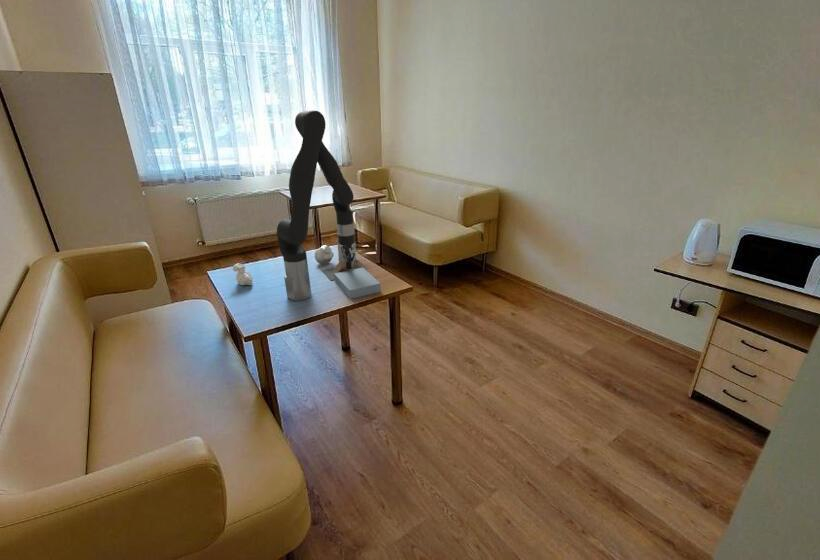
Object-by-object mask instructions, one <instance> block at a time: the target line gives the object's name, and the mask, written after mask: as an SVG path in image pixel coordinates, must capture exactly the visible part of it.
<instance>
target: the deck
mask: <svg viewBox="0 0 820 560" xmlns="http://www.w3.org/2000/svg"><path fill="white" fill-rule="evenodd" d="M334 277H335V280H334V282H335V283H336V285H337V286H338V287H339V288H340V289H341V290H342V291H343V292H344V294H345V295H346V296H347V297H348V298H349V299H350V300H352V299H356V298H360V297H364V296H368V295H372V294H377V293H381V283H380V281H378V279H376V278H375V277H374V276H373V275H372V274H371V273H369V271H367V270H366V269H365V268H364V267H359V268H358V269H354V270H349V271H344V272H339V273H335V274H334Z"/></svg>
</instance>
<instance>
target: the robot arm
mask: <svg viewBox="0 0 820 560" xmlns="http://www.w3.org/2000/svg"><path fill="white" fill-rule="evenodd" d="M294 124H295V125H294V126H295V128H296V130H297V132H298V133H299V135H300V136H301V137H302V142H301V146H300V150H299V151H298V154H297V155H296V157H295V159H294V161H293V163H292V164H291V165H292V166H291V168H290V174H289V180H288V190H289V195H290V200H291V204H292V212H291V218H285V219H282V220H280V221H279V222H278V224H277V228H276V237H277V242H278V246H279V251H280V254H281V256H282V257H283V264H284V272H285V276H284V286H285V290H286V292H285V293H286V296H287V298H288V299H289V300H290V299H291V300H292V301H294V302H297V301H304V300H307V299H309V298H310V297H311V296H312V288H311V281H310V273H309V272H310V271H309V267H308V265H309V264H308V257H307V252H306V250H305V248H304V247H303V246H302V244H303V243H304V242H305V241H306V239H307V236H308V230H309V218H310V217H309V216H310V209H311V208H310V207H311V202H312V195H313V189H314V183H315V179H316V171H317V165H319V168H320V170H321V172H322V174H323V176H324V178H325V181H326V182H327V184H328V185H329V186H330V187H331V188H332V189H333V190H332V195H331V199H332V203H333V207H334V210H335V214H336V216H335V217H336V234H337V240H338V243H339V244H340V245H342V246H341V251H342V254H343V258H345V261H346V268H347V269H348V270H349V269H352V265H351V262H352V261H353V260H354V256H355V253H352V251H353V247H352V244H354V243H355V244H356V235H355V234H356V233H355V226H354V217H353V216H354V215H353V211H352V210H351V208H350V205H352V203H353V201H354V193H353V190H352V189H351V187H350V185H349V183H348V182H347V180H346V179H345V178H344V175H343V173H342V171H341V168H340V166H339V164H338V162H337V160H336V159H335V157H334V156H333V155H332V153H331V152H330V151H329V149H328V148H327V147H326V145H325V144H324V142H323V138H324V134H325V132H326V118H325V116H324V115H323V113H321V112H320V111H318V110H303V111H300V112H298V114H297V115H296V116H295V119H294Z"/></svg>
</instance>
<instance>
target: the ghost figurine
mask: <svg viewBox="0 0 820 560" xmlns="http://www.w3.org/2000/svg"><path fill="white" fill-rule="evenodd" d="M332 250H333V249H332V248H331V247H330V246H328V245H326V244H325V245H322V246H321V247H319V248H317V249H316V250H315V252H314V259H315V262H317V263H318V264H319V265H322V266H323V265H327V264H328V265H329V264H330V263H331V261H332V260H333V258H334V255H335V254H334V252H332Z"/></svg>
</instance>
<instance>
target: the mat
mask: <svg viewBox="0 0 820 560" xmlns="http://www.w3.org/2000/svg"><path fill="white" fill-rule="evenodd" d="M358 268H360V267H359V266H358V265H357V264H356V263H354V262H353V267H352V269H350V270H354V269H358ZM321 271H322V273H323V274H324V275H325V276H326V277H327V278H328V280H329V281H330V282H333V281H335V277H334V274H335V273H337V271H336V266H335V267H330V268H324V269H321Z"/></svg>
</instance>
